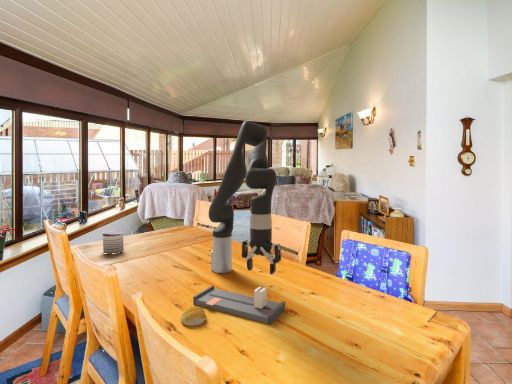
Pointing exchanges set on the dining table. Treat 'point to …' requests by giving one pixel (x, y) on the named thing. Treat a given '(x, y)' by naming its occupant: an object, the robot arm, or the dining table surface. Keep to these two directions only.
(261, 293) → the fader cap
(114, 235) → the can
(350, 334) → the dining table surface
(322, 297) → the dining table surface
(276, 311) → the fader board
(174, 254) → the dining table surface
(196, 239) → the dining table surface
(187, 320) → the bread roll
